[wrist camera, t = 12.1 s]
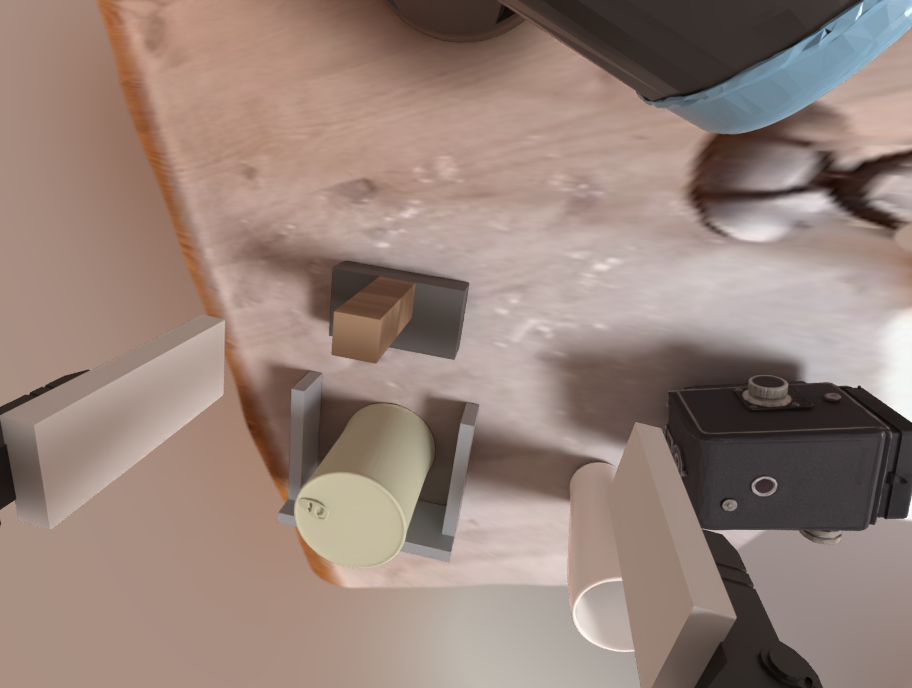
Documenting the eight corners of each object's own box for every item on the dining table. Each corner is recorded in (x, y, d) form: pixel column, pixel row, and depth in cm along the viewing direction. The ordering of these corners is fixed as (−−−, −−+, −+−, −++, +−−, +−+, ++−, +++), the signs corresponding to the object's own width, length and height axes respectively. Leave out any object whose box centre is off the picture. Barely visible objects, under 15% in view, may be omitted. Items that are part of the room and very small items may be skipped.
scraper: (345, 260, 45) (274, 300, 33) (469, 282, 44) (442, 331, 32) (341, 324, 47) (272, 384, 35) (459, 347, 46) (430, 416, 34)
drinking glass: (597, 525, 50) (619, 668, 36) (546, 482, 49) (548, 612, 35) (651, 484, 48) (697, 621, 34) (598, 439, 47) (622, 559, 33)
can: (359, 387, 49) (306, 457, 38) (449, 425, 49) (422, 506, 38) (333, 462, 52) (277, 545, 41) (417, 497, 52) (383, 591, 41)
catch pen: (310, 370, 49) (280, 398, 43) (479, 404, 48) (471, 438, 42) (305, 484, 54) (278, 522, 48) (458, 518, 52) (449, 562, 47)
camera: (659, 461, 48) (848, 463, 44) (675, 549, 38) (925, 563, 33) (656, 356, 44) (862, 347, 40) (673, 420, 34) (952, 418, 30)
